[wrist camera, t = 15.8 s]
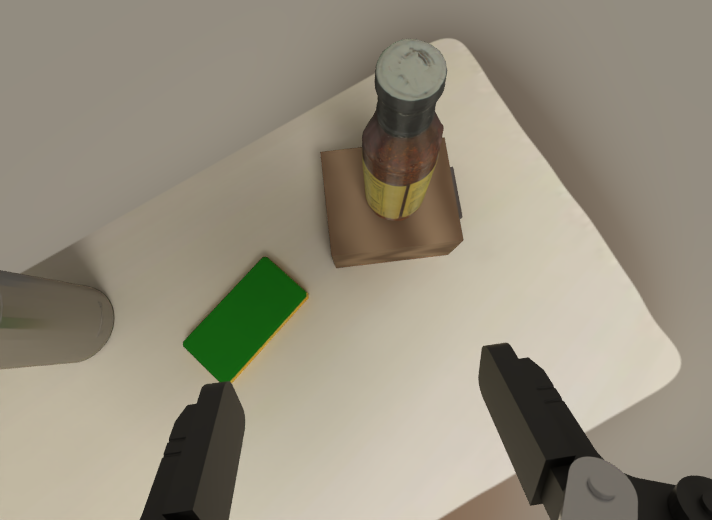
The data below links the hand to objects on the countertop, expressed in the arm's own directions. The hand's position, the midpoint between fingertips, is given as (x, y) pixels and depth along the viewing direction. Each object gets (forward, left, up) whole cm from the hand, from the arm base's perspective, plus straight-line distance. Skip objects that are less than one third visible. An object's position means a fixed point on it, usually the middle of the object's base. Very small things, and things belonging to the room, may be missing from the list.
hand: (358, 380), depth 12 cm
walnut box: (+5, +16, -32) cm, 36 cm away
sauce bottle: (+5, +16, -26) cm, 30 cm away
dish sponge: (-13, +5, -33) cm, 36 cm away
